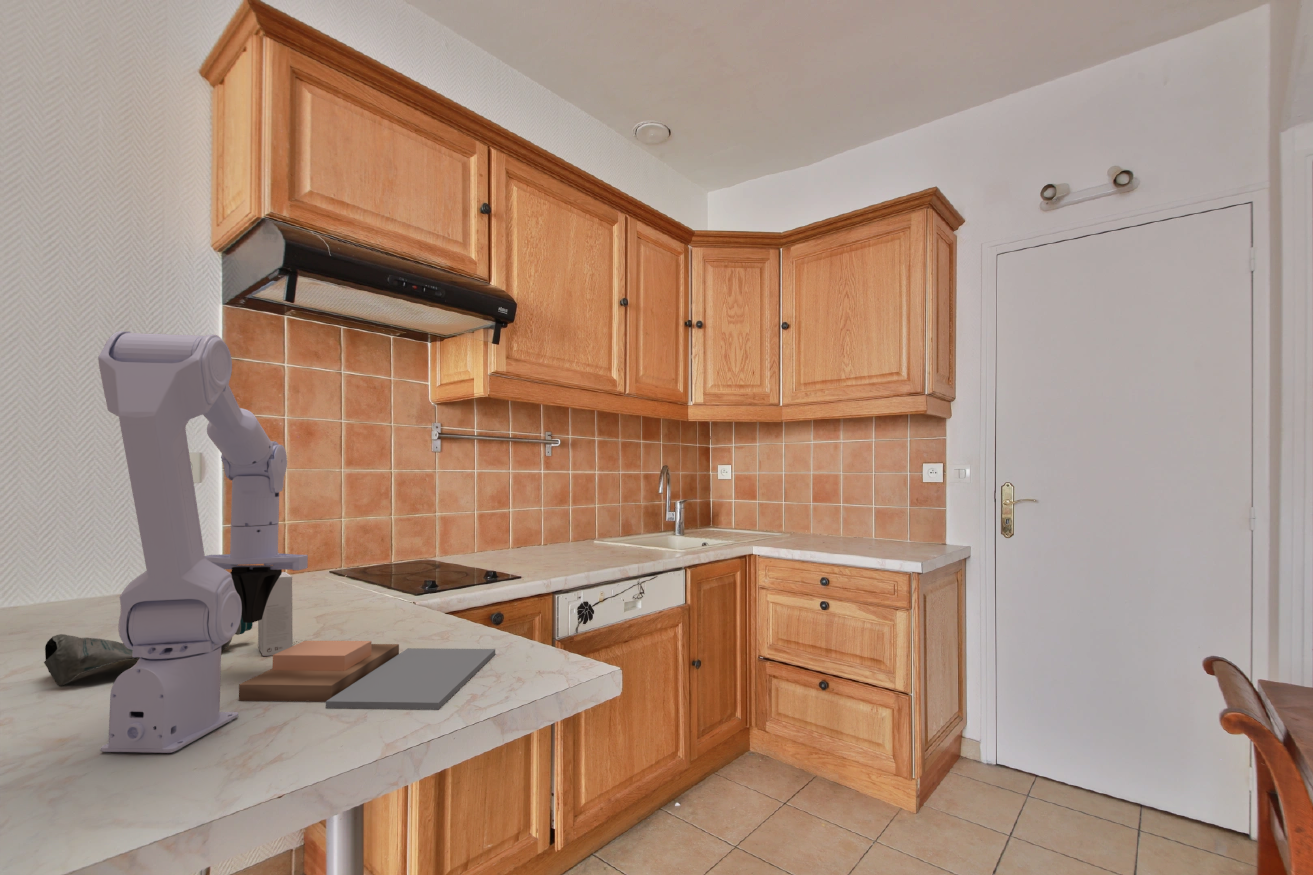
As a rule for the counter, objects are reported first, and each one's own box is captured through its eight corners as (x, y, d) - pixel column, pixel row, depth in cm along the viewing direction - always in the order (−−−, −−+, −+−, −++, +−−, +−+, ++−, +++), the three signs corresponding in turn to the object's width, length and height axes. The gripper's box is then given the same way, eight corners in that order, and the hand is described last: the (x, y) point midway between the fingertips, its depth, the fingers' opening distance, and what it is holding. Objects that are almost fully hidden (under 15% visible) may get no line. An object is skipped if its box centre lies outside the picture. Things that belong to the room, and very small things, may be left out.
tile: (344, 670, 82) (344, 655, 82) (272, 670, 82) (272, 655, 83) (371, 654, 89) (371, 640, 89) (304, 654, 89) (305, 640, 90)
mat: (438, 709, 74) (438, 702, 74) (325, 707, 74) (325, 701, 74) (495, 654, 96) (495, 648, 96) (407, 653, 96) (407, 648, 96)
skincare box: (293, 652, 97) (295, 575, 98) (260, 657, 95) (262, 578, 95) (287, 643, 102) (289, 570, 103) (255, 648, 99) (257, 573, 100)
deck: (331, 701, 76) (331, 685, 76) (238, 700, 77) (239, 684, 77) (398, 657, 94) (398, 644, 94) (323, 656, 95) (323, 643, 95)
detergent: (48, 697, 78) (266, 648, 98) (48, 640, 79) (265, 602, 99) (34, 684, 87) (238, 641, 106) (34, 633, 87) (237, 599, 107)
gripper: (321, 522, 91) (319, 614, 90) (227, 522, 92) (224, 613, 91) (290, 526, 84) (288, 626, 83) (189, 526, 85) (186, 626, 84)
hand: (252, 620), depth 87 cm, fingers closed
